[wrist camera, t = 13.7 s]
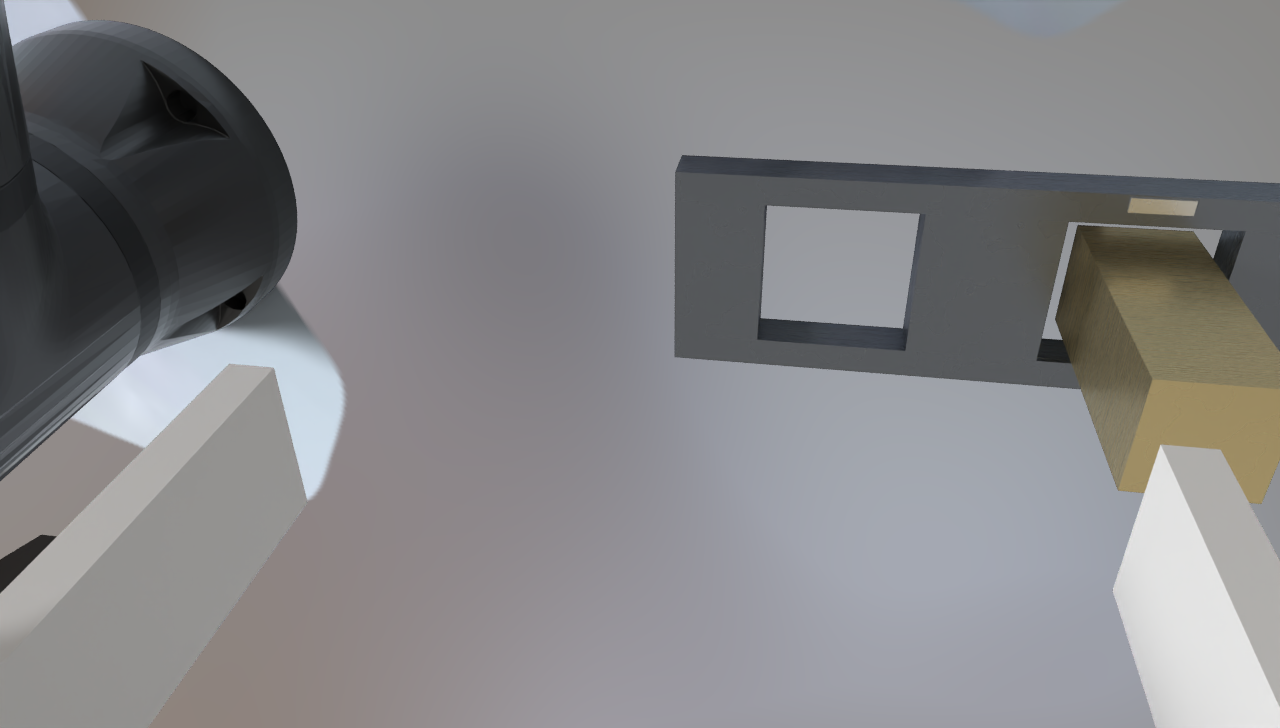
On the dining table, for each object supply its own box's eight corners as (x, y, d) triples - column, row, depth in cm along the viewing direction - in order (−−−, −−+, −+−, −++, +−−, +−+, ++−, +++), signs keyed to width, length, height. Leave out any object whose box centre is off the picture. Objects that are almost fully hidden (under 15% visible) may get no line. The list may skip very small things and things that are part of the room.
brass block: (1055, 318, 43) (1118, 490, 33) (1077, 225, 41) (1152, 379, 31) (1163, 326, 43) (1261, 503, 33) (1193, 231, 40) (1307, 391, 30)
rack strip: (680, 335, 47) (674, 358, 45) (682, 155, 42) (675, 173, 41) (1267, 379, 43) (1285, 406, 41) (1342, 186, 38) (1365, 207, 37)
